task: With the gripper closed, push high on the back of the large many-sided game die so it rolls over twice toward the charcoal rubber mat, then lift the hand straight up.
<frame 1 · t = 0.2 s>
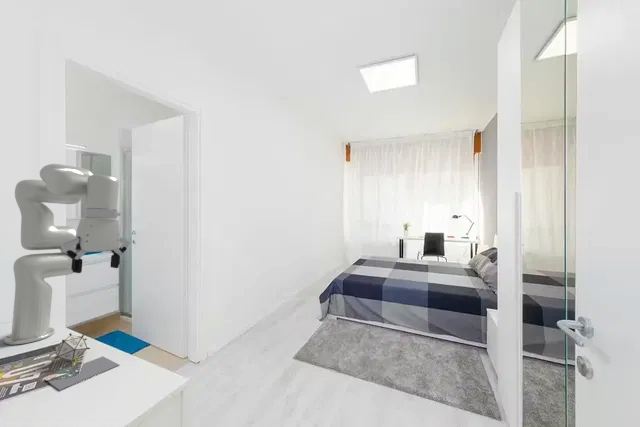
hand: (96, 269, 78), 31 cm above the table, tool pointing down, fingers open, 9 cm apart
game die: (70, 361, 82), on the table
charcoal mat: (83, 372, 76), on the table
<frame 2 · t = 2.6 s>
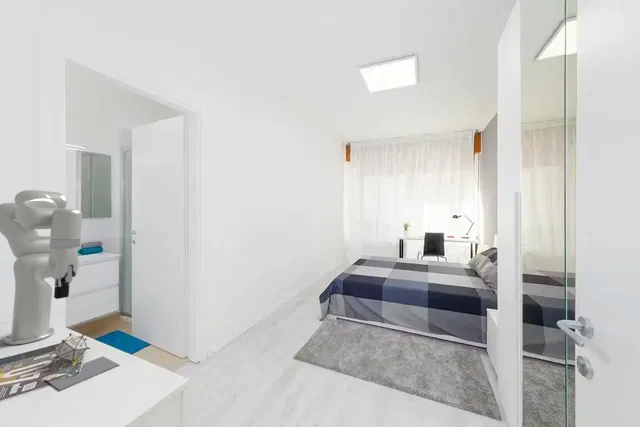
hand: (61, 297, 87), 19 cm above the table, tool pointing down, fingers closed
nothing on the table moved.
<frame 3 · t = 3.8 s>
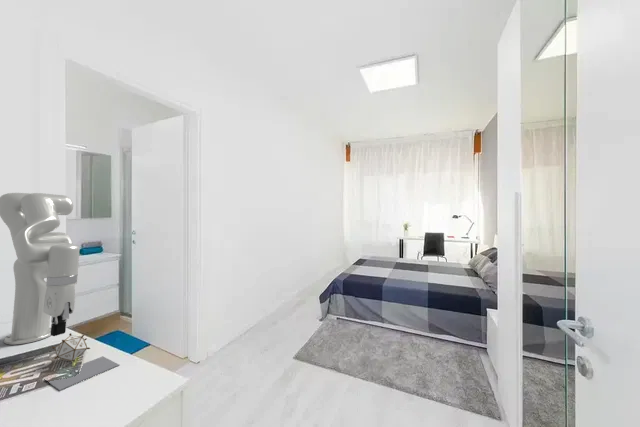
hand: (58, 334, 87), 6 cm above the table, tool pointing down, fingers closed
nothing on the table moved.
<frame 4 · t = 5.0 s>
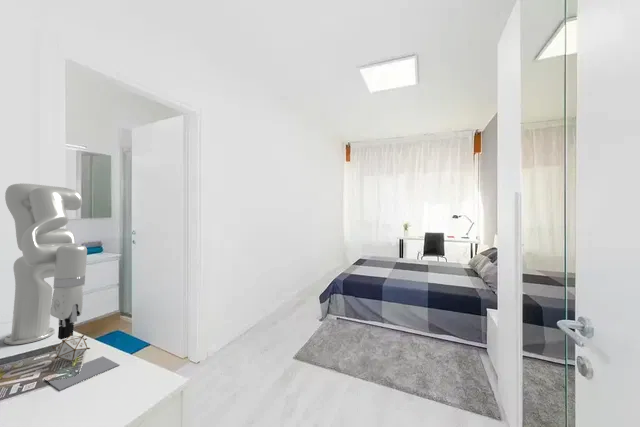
hand: (65, 337, 84), 6 cm above the table, tool pointing down, fingers closed
game die: (70, 361, 82), on the table, touching gripper
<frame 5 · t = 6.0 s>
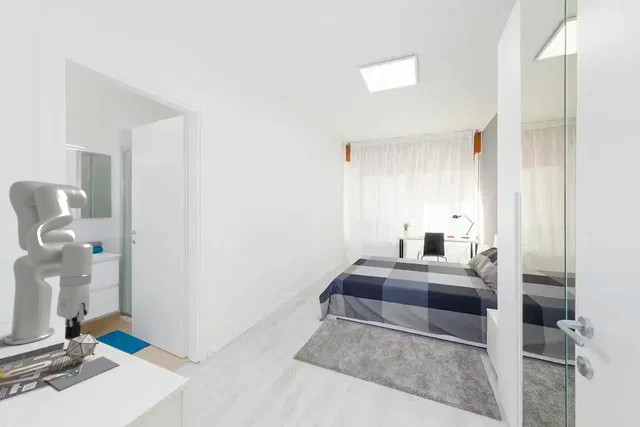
hand: (72, 337, 82), 7 cm above the table, tool pointing down, fingers closed
game die: (73, 355, 82), point 2 cm above the table, touching gripper
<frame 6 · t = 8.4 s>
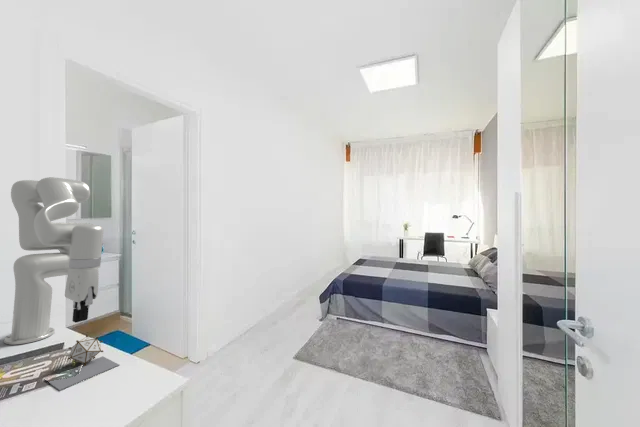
hand: (80, 320, 81), 14 cm above the table, tool pointing down, fingers closed
game die: (75, 353, 82), point 3 cm above the table, touching charcoal mat
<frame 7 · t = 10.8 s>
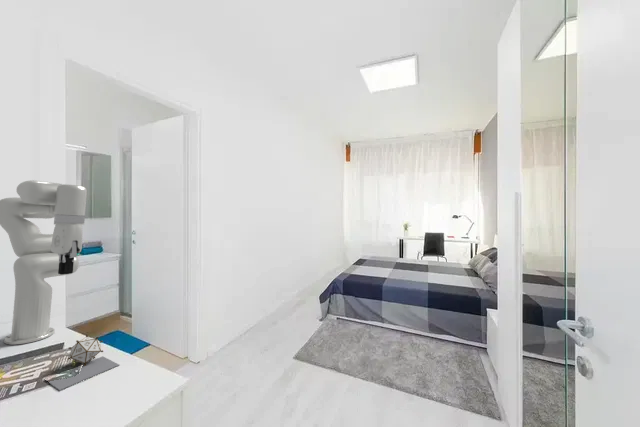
hand: (65, 273, 87), 27 cm above the table, tool pointing down, fingers closed
nothing on the table moved.
at the end: game die tilted 69°; game die point 2.5 cm above the table; the gripper is holding nothing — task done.
